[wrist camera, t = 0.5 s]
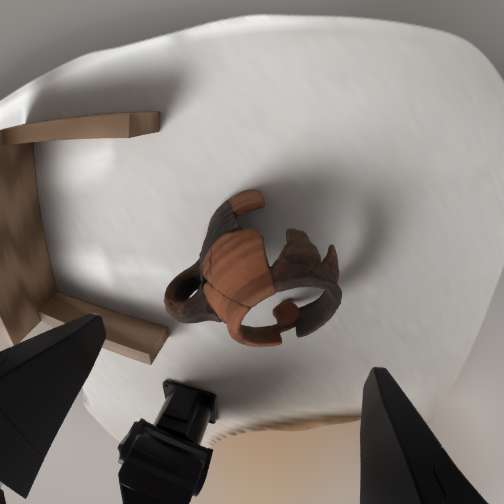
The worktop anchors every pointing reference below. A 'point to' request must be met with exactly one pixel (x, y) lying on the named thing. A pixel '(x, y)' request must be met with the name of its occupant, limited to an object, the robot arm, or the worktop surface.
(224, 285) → the pottery mug
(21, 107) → the worktop surface
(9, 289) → the walnut bay
